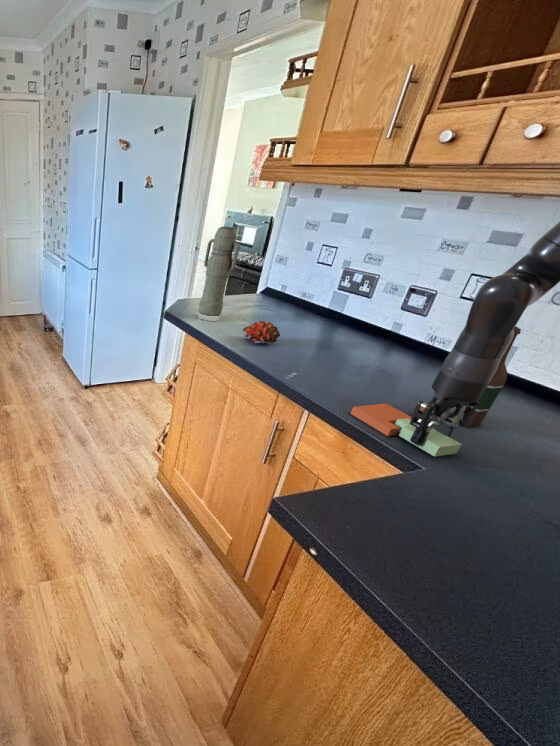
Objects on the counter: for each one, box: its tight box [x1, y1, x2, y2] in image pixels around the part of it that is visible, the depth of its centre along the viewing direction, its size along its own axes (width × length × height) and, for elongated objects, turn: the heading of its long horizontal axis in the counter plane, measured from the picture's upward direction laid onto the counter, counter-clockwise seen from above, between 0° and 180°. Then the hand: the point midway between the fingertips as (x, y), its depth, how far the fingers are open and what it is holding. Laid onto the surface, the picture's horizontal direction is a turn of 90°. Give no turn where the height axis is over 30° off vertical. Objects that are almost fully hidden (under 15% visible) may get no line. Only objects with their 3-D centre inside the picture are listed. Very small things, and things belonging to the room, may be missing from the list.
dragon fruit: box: [242, 320, 281, 345], centre depth 144 cm, size 8×8×12 cm
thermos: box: [197, 226, 241, 322], centre depth 161 cm, size 9×12×35 cm
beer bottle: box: [462, 325, 522, 428], centre depth 96 cm, size 8×8×24 cm
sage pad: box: [395, 418, 462, 457], centre depth 91 cm, size 6×11×2 cm, turn 12°
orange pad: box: [350, 403, 412, 437], centre depth 99 cm, size 10×10×2 cm
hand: (427, 441), depth 90 cm, fingers closed on sage pad, 6 cm apart
